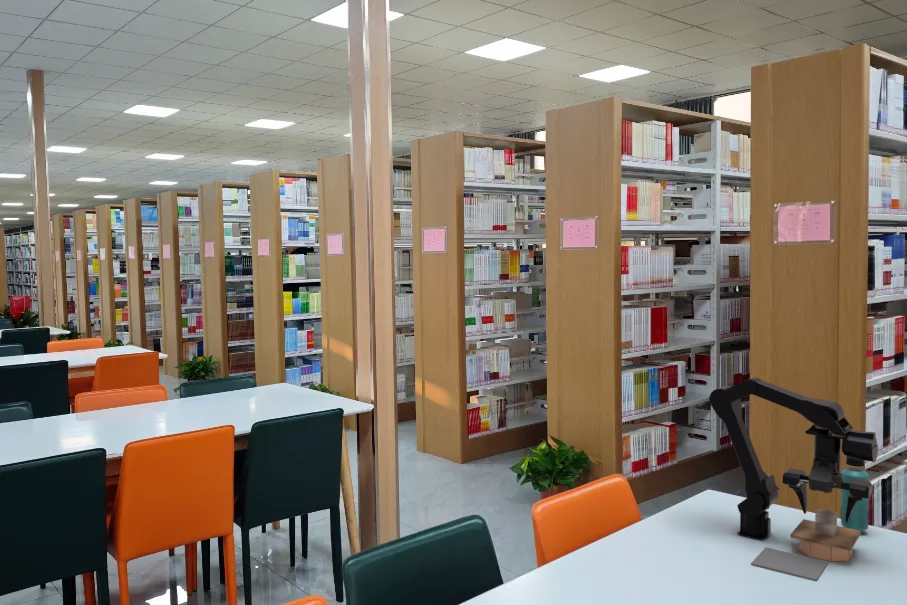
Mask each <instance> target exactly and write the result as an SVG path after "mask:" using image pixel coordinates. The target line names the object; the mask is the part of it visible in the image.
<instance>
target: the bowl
mask: <svg viewBox="0 0 907 605" xmlns="http://www.w3.org/2000/svg"><path fill="white" fill-rule="evenodd" d="M799 551H802V552H803V553H804V554H805V555H807V556H808V557H810V558H814V559H819V560H823V561H827V562H846V561H849V560H850V559H851V557H852V556H853V549H852V550H851V551H850V550H845V549H840V548H836V547H831V546H827V545H822V544H818V543H813V542H808V541H804V540H799Z"/></svg>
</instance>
